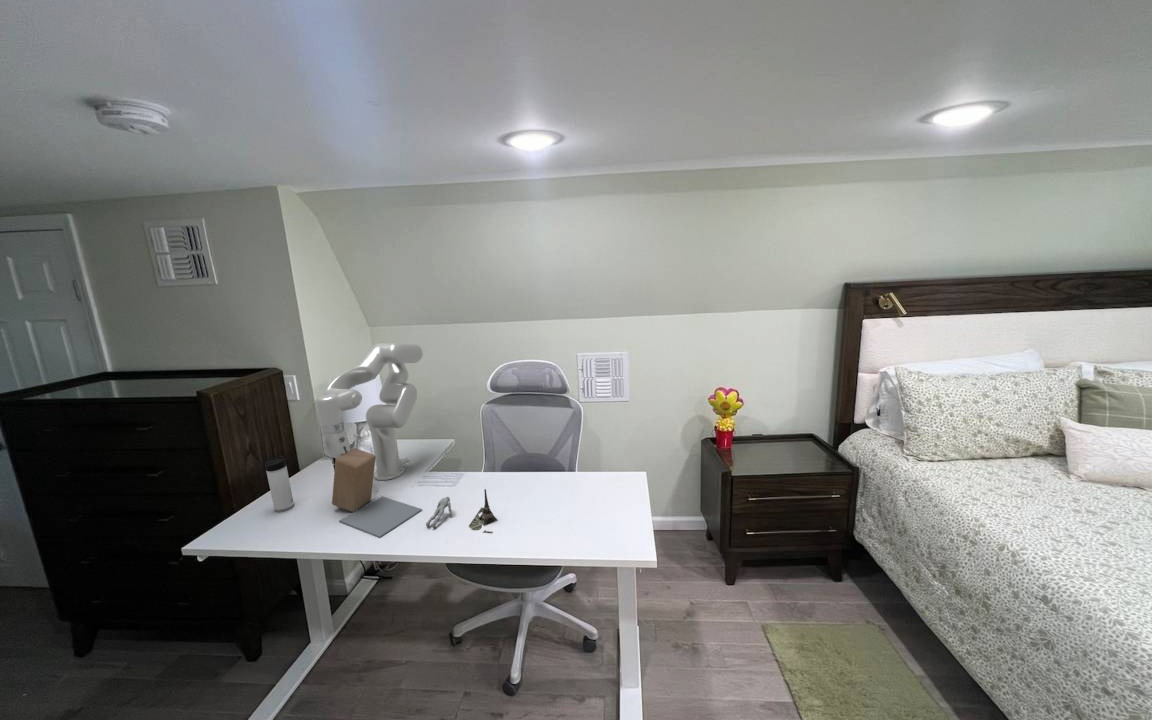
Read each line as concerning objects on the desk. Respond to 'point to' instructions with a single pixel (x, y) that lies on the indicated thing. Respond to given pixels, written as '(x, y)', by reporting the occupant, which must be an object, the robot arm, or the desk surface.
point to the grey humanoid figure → (440, 511)
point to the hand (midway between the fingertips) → (340, 473)
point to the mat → (380, 516)
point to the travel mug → (279, 484)
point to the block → (353, 479)
